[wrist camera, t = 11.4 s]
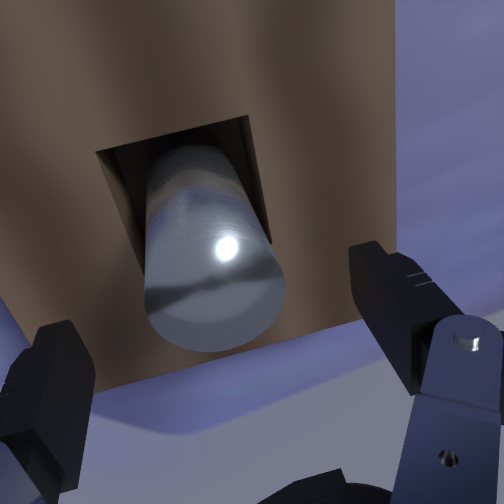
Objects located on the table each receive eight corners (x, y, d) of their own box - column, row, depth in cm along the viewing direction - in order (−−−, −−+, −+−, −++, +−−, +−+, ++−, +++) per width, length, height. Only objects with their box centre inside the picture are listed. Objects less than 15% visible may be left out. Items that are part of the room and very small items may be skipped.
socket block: (338, -91, 18) (393, -114, 14) (360, 260, 28) (396, 309, 24) (-100, 3, 17) (-182, 7, 13) (79, 336, 27) (66, 401, 23)
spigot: (219, 118, 21) (274, 219, 12) (235, 194, 23) (293, 331, 14) (136, 137, 21) (123, 257, 11) (160, 213, 23) (167, 366, 13)
